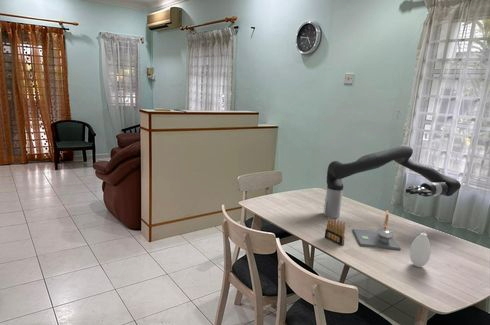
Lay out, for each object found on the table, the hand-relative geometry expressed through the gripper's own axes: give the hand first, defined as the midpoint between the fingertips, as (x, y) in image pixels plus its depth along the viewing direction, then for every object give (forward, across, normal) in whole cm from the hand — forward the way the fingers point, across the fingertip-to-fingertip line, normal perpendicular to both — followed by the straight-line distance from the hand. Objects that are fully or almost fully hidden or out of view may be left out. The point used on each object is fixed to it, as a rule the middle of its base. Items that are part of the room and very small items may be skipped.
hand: (408, 191), depth 173 cm
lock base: (+21, +2, +24) cm, 32 cm away
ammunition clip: (+43, -3, +24) cm, 50 cm away
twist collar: (+17, +4, +20) cm, 26 cm away
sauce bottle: (+22, +28, +24) cm, 43 cm away
